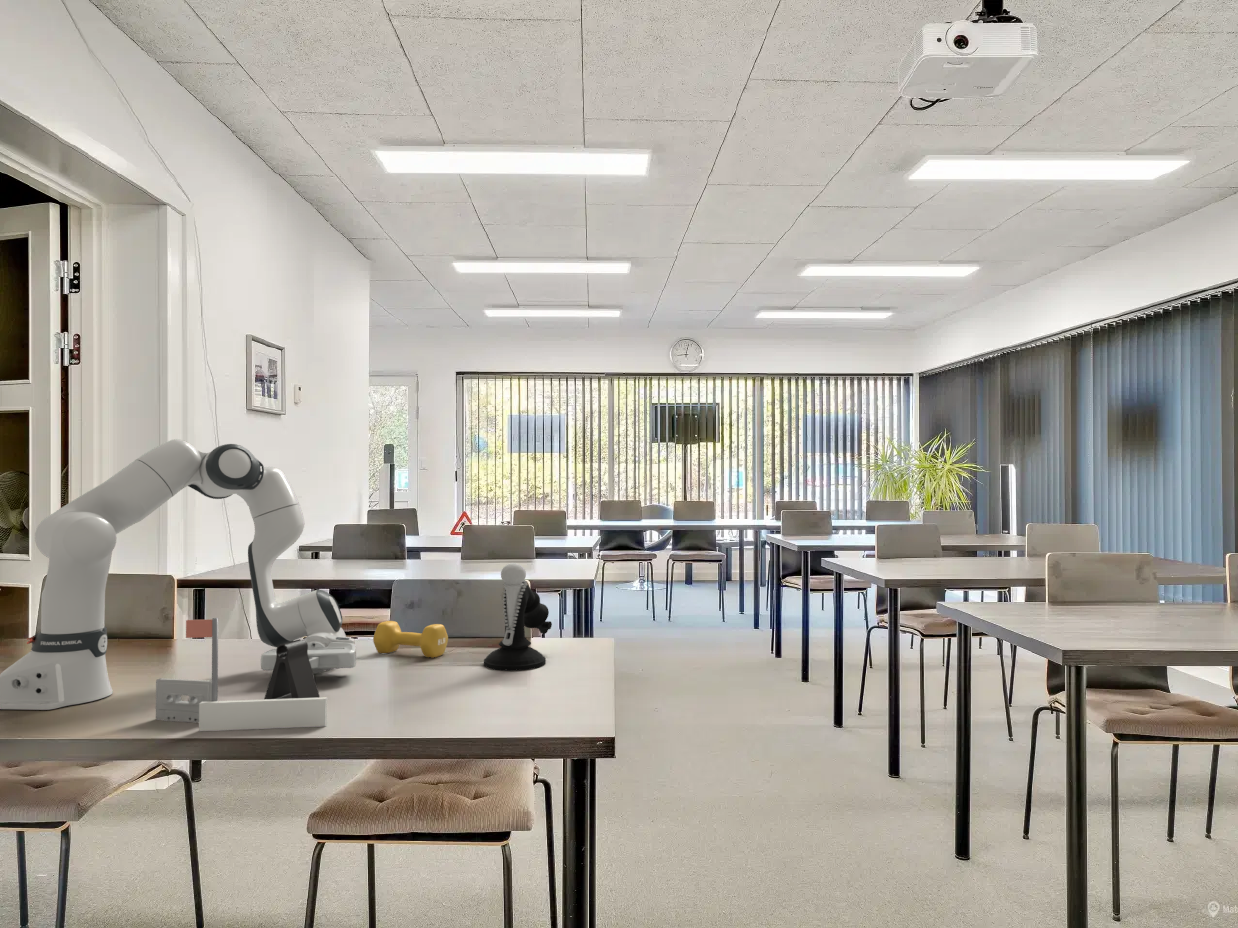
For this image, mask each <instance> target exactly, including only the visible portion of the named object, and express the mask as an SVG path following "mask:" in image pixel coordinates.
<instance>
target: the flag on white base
mask: <svg viewBox="0 0 1238 928" xmlns="http://www.w3.org/2000/svg"><path fill="white" fill-rule="evenodd" d="M185 638H189V639H192V638H194V639H195V638H211V681H212V701H208V702H201V703H199V723H198V731H199V732H214V731H219V732H220V731H237V730H239V731H243V730H263V729H264V730H265V729H289V728H314V727H315V728H316V727H326V726H327V724H328V697H327V696H325V697H319V698H292V699H264V698H263V699H243V700H241V699H240V700H218V699H219V697H218V694H219V693H218V692H219V690H218V687H219V686H218V683H219V617H214V618H212V619H209V618H208V619H186V620H185Z"/></svg>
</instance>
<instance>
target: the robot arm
mask: <svg viewBox="0 0 1238 928" xmlns="http://www.w3.org/2000/svg"><path fill="white" fill-rule="evenodd" d="M186 487H189V488H191V489H193V490H194V491H196V492H198V493H199V494H201V495H202V496H204V497H207V498H209V499H213V500H214V499H215V500H221V499H223V500H224V499H227V498H229V497H231V496H232V495H237V496H239V497H240V498H241V499H242V500H243V501H244V502H245V503H246V505H247V506H248V508H249V512H250V516H251V518H252V521H253V525H254V535H253V540H252V541H251V542H250V543H249V545H248V547H247V548H248V549H247V559H248V569H249V574H250V575H249V576H250V582H251V588H252V595H253V599H254V601H253V602H254V605H255V606H254V607H255V608H254V609H255V617H256V619H255V620H256V630H257V634H258V636H259V639H260V641H261V642H262V643H264V644H266V645H268V646H269V647H273V648H272V649H270V650H268V651H264V652H263V653H261V656H260V670H262V671H273V669H274V666H275V662H276V658H277V654H276V649H277V647H278V646H279V645H281V644H284V643H288V642H292V641H295V640H299V639H301V638H304V639H302V640H305V641H306V642H307V644H308V651H307V652H308V657H309V661H310V664H311V668H312V671H313V674H320V673H324V672H325V671H326V672H327V671H331V670H335V669H353V668H355V667H356V665H357V645H356V641H355V639H354V638H353V637H352V638H351V637H347V635H346V633H345V631H344V629H343V628H342V626H343V621H344V620H343V615H342V612H341V608H340V606H339V603H338V601H337V600H336V598H335V597H334V596H333V595H331V594H330V593H329V592H327V591H325V590H323V589H319V588H318V589H316V590H312V591H310V592H307V593H304V594H301V595H299V596H296V597H294V598H291V599H288V600H285V601H282V602H277V601H276V596H275V590H274V583H273V577H272V567H273V564H274V563H275V561H276V560H277V558H279V557H280V556H281V555H282V554H283V553H284V552H285V551H287V550H288V549H289V548H290V547H292V546H293V545H294V544H295V543H296V542H297V541H298V539H300V537H301V535H303V534H302V533H303V532H304V530H305V529H304V528H305V518H304V514H303V510H302V508H301V504H300V502H299V500H298V497H297V495H296V492H295V490H294V488H293V486H292V484H291V482H290V481H289V479H288V477H287V476H286V474H285V472H284V471H283V470H282V469H280V468H278V467H273V466H265V465H264V464H263V463H262V461H259V459H257V458H256V457H255V455H253V453H252V452H251V451H250V450H248V448H246V447H244V446H243V445H240V444H237V443H226V444H221V445H219V446H217V447H215V448H214V449H212V450H211V451H210V452H201V451H200V450H198V449H197V448H196V447H195V446H194V445H193V444H191V443H189V442H188V441H185V440H183V439H178V438H175V439H171V440H168V441H165V442H163V443H162V444H160V445H158V446H156V447H154V448H152V449H150V450H149V451H147V452H145V453H144V454H142V455H141V456H139V457H137V458H136V459H134V460H133V461H132V462H131V463H129V464H128V465H126V466H125V467H123V468H122V469H121V470H120V471H118V472H117V473H115V474H113V475H112V476H111V477H109V478H108V479H107V480H105V481H104V482H102V483H100V484H99V485H97V486H95V487H93V488H92V489H90V490H89V491H87V492H85V493H83V494H81V495H80V496H79V497H77V498H75V499H73V500H72V501H70V502H68V503H67V504H66V505H63V506H62V507H61V508H58V509H57V510H55V511H54V512H53V513H50V514H49V515H48V516H46V517H44V519H42V520H41V522H39V524H38V525H37V526H36V529H35V532H34V541H35V544H36V547H37V549H38V550H39V552H40V553H41V554H42V555H44V556H45V557H46V558H48V569H47V572H46V578H45V583H44V587H43V590H42V591H41V592H42V593H41V604H40V605H41V608H40V610H41V611H40V613H41V614H40V620H41V621H40V632H38V633H36V634H34V635H32V636H31V637H28V638H26V640H27V642H26V644H27V645H29V644H31V649H30V651H29V652H28V653H26V654H25V655H24V656H22V657H21V658H19V659H18V660H16V661H15V662H14V663H13V664H11V665H9V666H8V667H7V668H6V669H5V670H3V671H2V672H1V673H0V710H30V711H31V710H34V711H35V710H36V711H39V710H41V711H46V710H47V711H49V710H55V709H58V708H63V707H67V706H73V705H79V704H84V703H89V702H93V701H97V700H100V699H103V698H107V697H109V696H110V695H112V694H113V693H114V692H113V691H114V690H113V688H112V685H111V682H110V677H109V674H108V668H107V667H108V666H107V660H106V653H107V649H108V628H107V627H106V626H105V611H106V610H105V609H106V588H107V583H108V577H109V571H110V567H111V561H112V555H113V551H114V549H115V547H116V544H117V535H118V534H120V533H121V532H123V531H124V530H126V529H128V528H129V527H131V526H133V525H135V524H137V523H139V522H142V521H143V520H144V519H146V518H147V517H148V516H149V515H151V514H152V513H153V512H154V511H156V510H157V509H159V508H160V507H161V506H163V505H164V504H165V503H167V501H169V500H171V498H173V497H174V496H175V495H177V494H178V493H179V492H180V491H182V490H183V489H185V488H186Z"/></svg>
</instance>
